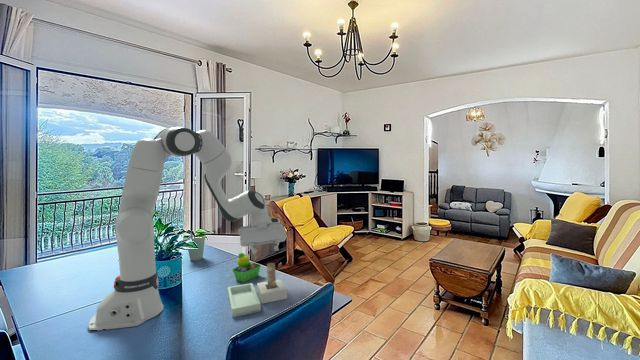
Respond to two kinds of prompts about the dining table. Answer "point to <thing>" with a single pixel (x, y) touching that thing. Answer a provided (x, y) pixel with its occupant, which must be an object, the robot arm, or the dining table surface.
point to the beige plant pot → (197, 253)
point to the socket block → (271, 292)
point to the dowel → (271, 275)
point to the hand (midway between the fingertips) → (265, 251)
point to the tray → (243, 300)
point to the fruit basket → (245, 268)
